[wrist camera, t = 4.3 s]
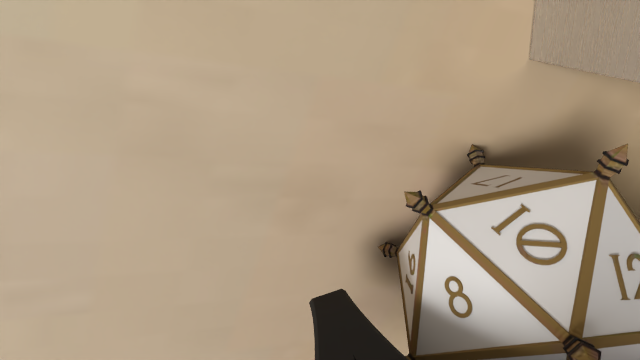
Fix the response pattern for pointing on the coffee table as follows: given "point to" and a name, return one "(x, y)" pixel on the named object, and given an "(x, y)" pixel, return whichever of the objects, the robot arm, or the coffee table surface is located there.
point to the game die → (523, 266)
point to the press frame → (589, 36)
